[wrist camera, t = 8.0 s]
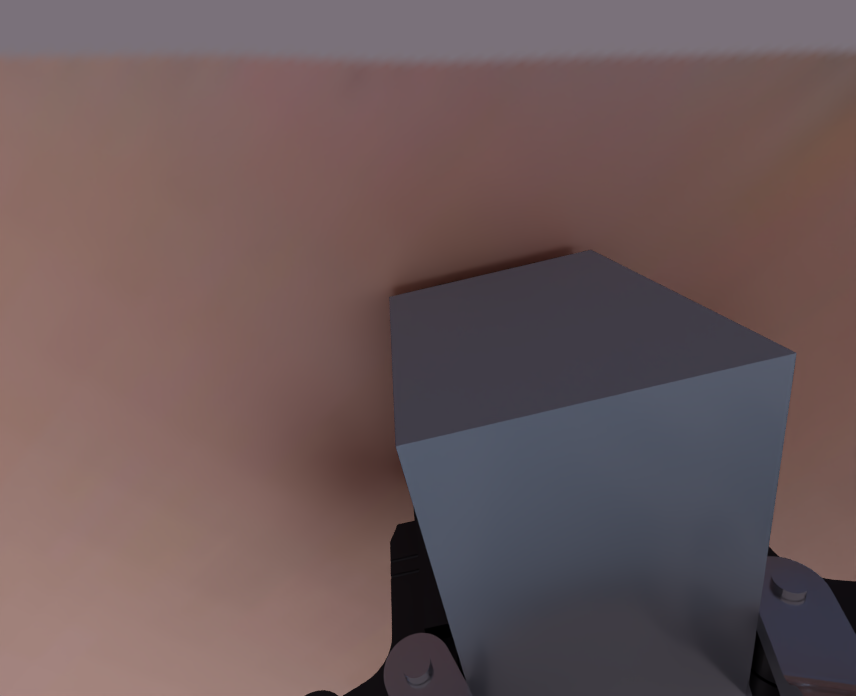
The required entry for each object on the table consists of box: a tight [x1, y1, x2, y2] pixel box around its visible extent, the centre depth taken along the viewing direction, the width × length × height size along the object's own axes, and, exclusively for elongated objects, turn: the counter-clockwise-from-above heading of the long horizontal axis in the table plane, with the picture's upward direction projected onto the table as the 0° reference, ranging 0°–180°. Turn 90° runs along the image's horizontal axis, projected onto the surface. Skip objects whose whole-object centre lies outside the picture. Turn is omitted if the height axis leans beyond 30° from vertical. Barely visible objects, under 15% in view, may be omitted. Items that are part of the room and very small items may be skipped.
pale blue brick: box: [389, 250, 796, 696], centre depth 11 cm, size 5×12×6 cm, turn 12°
